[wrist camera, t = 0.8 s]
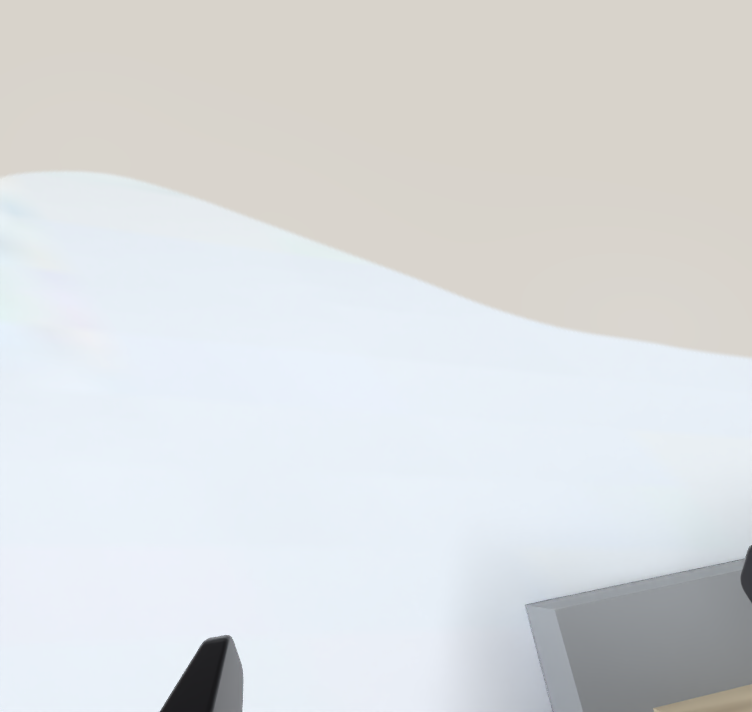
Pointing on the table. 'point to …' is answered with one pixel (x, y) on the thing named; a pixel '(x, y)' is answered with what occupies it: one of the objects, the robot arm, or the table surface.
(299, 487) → the table surface
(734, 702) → the tile
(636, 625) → the plate
